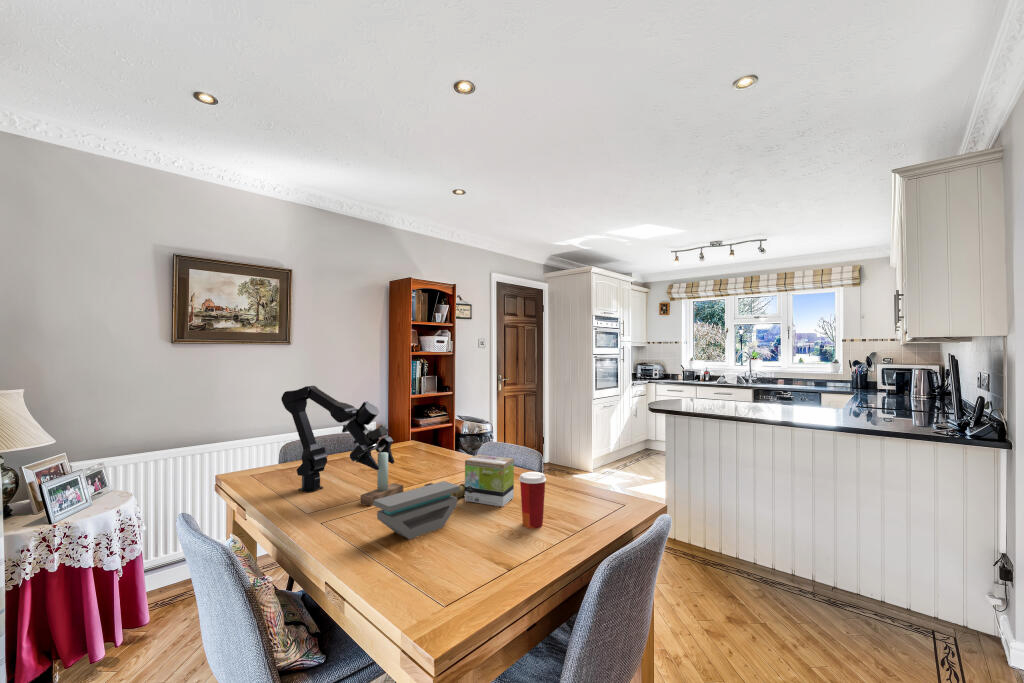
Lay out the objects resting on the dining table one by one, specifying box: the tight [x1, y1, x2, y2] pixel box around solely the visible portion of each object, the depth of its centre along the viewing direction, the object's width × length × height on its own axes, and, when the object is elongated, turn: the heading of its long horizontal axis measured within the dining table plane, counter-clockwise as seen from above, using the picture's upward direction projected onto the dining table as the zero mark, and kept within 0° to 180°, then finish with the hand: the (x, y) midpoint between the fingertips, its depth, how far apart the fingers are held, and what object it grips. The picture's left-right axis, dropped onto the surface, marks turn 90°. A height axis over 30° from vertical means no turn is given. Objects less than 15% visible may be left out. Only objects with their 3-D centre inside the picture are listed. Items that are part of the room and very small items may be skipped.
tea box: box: [464, 454, 515, 508], centre depth 157 cm, size 15×10×15 cm
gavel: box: [423, 482, 465, 499], centre depth 165 cm, size 21×5×10 cm
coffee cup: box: [518, 471, 547, 530], centre depth 135 cm, size 8×8×15 cm
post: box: [376, 452, 389, 491], centre depth 159 cm, size 4×4×13 cm
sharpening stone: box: [373, 480, 460, 540], centre depth 131 cm, size 25×8×11 cm, turn 138°
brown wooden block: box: [359, 482, 404, 507], centre depth 159 cm, size 16×5×3 cm, turn 152°
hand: (386, 466), depth 159 cm, fingers open, 9 cm apart
